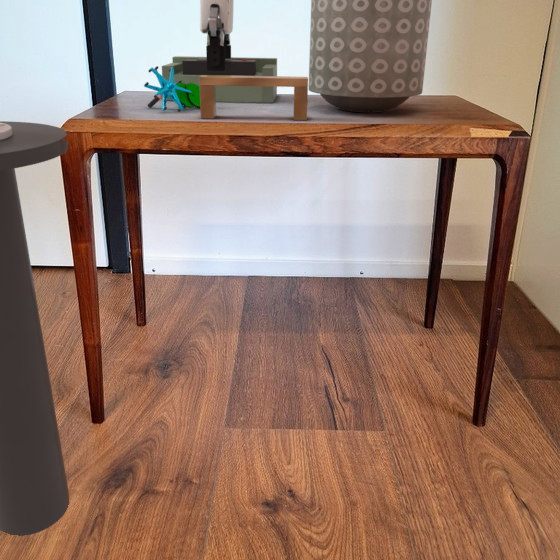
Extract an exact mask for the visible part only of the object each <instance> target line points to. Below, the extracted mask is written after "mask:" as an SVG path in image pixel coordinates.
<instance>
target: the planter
mask: <svg viewBox="0 0 560 560" xmlns="http://www.w3.org/2000/svg"><path fill="white" fill-rule="evenodd" d="M432 3H433V0H310V25H309V26H310V31H309V59H308V60H309V62H308V65H309V66H308V92H311V93H314V94H318V95H320V96H321V97H322V99H323V100H325V102H327V103H328V104H330V105H331V106H333V107H335V108H337V109H339V110H342V111H346V112H352V113H382V112H387V111H390V110H393V109H394V108H397V107H399V106H401V105H402V104H404V103H405V102H406V101H407V100H408V99H409V98H410V97H417V96H419V95H422V94H423V88H424V80H425V79H424V78H425V70H426V62H427V61H426V60H427V51H428V42H429V34H430V33H429V31H430V24H431V23H430V22H431V13H432Z"/></svg>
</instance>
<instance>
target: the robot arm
mask: <svg viewBox="0 0 560 560" xmlns="http://www.w3.org/2000/svg"><path fill="white" fill-rule="evenodd" d="M199 6H200V7H199V30H200V32H201V33H202V34H206V35H207V36H206V46H205V48H206V49H205V50H206V51H205V52H206V54H205V55H206V57H207V70H209V71H224V70H225V59H231V57H232V45H231V33H232V32H233V30H234V29H233V28H234V0H199ZM12 134H13V133H12V127H11V126H10V125H8V124H4V123H0V141H1V140H4V139H7V138H9V137H11V136H12Z"/></svg>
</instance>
